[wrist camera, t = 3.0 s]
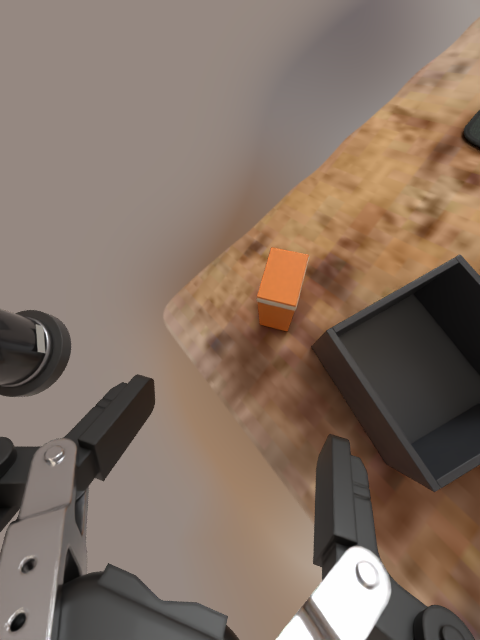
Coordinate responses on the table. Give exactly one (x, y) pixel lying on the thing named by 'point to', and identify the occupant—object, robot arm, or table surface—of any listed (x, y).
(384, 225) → the table surface
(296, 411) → the table surface
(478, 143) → the mouse mat
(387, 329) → the dark grey open box
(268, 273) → the block
